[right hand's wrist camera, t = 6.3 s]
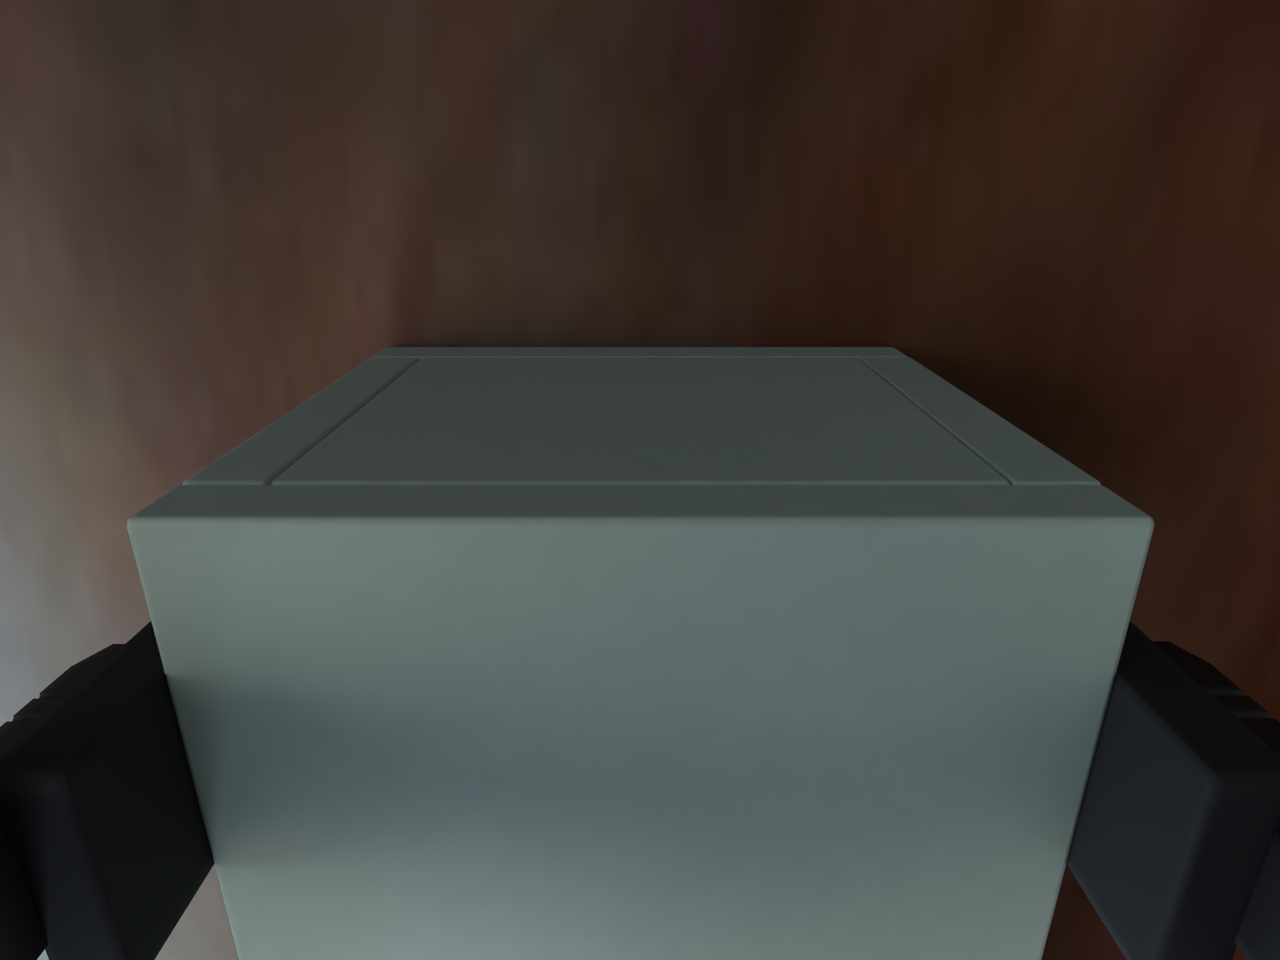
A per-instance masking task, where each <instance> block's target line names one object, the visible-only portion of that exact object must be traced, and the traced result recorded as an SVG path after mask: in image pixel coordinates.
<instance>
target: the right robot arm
mask: <svg viewBox="0 0 1280 960" xmlns="http://www.w3.org/2000/svg"><path fill="white" fill-rule="evenodd" d="M213 865H214V860H213V856H212V852H211V848H210V844H209V841H208V837H207V833H206V829H205V825H204V821H203V817H202V814H201V810H200V806H199V802H198V798H197V794H196V791H195V787H194V783H193V779H192V775H191V771H190V768H189V764H188V760H187V756H186V752H185V748H184V744H183V741H182V737H181V733H180V729H179V725H178V721H177V718H176V714H175V710H174V706H173V702H172V698H171V694H170V691H169V687H168V683H167V679H166V675H165V671H164V668H163V664H162V660H161V656H160V652H159V648H158V644H157V641H156V637H155V633H154V629H153V625H152V621H151V622H149V623H148V624H147V625H146V626H145V627H144V628H143V629H142V630H141V631H139V632H138V633H137V634H136V635H135V636H134V637H133V638H132V639H131V640H129V641H128V642H127V643H126V644H112V645H110V646H109V647H107V648H105V649H103V650H101V651H99V652H97V653H96V654H94V655H92V656H90V657H88V658H86V659H84V660H83V661H81V662H79V663H77V664H75V665H73V666H71V667H70V668H69V669H68V670H67V671H65V672H64V673H63V674H62V675H61V676H60V677H58V678H57V679H56V680H55V681H54V682H53V683H51V684H50V685H49V686H48V687H47V688H45V689H44V690H43V691H42V692H41V693H40V697H39V699H33V700H31V701H30V702H29V703H28V704H27V705H26V706H24V707H23V708H22V709H21V710H20V711H19V712H17V713H16V714H15V715H14V719H13V721H12V722H6V723H4V724H3V725H2V726H1V727H0V960H37V958H38V957H39V956H40V955H41V953H42V952H43V951H44V949H45V950H46V952H47V955H48V958H49V960H154V959H155V958H156V956H157V955H158V953H159V951H160V950H161V948H162V947H163V945H164V943H165V942H166V940H167V939H168V937H169V935H170V934H171V932H172V930H173V929H174V927H175V926H176V924H177V922H178V921H179V919H180V918H181V916H182V914H183V913H184V911H185V910H186V908H187V906H188V905H189V903H190V902H191V900H192V898H193V897H194V895H195V894H196V892H197V890H198V889H199V887H200V886H201V884H202V882H203V881H204V879H205V878H206V876H207V874H208V873H209V871H210V870H211V868H212V866H213ZM1067 865H1068V867H1069V868H1070V870H1071V871H1072V873H1073V875H1074V876H1075V878H1076V879H1077V881H1078V883H1079V884H1080V886H1081V887H1082V889H1083V891H1084V892H1085V894H1086V895H1087V897H1088V899H1089V900H1090V902H1091V903H1092V905H1093V907H1094V908H1095V910H1096V912H1097V913H1098V915H1099V916H1100V918H1101V920H1102V921H1103V923H1104V924H1105V926H1106V928H1107V929H1108V931H1109V932H1110V934H1111V936H1112V937H1113V939H1114V940H1115V942H1116V944H1117V945H1118V947H1119V948H1120V950H1121V952H1122V953H1123V955H1124V956H1125V958H1126V960H1232V958H1233V955H1234V953H1235V950H1236V948H1237V946H1238V948H1239V949H1240V950H1241V952H1242V953H1243V954H1244V955H1245V957H1246V958H1247V959H1248V960H1280V722H1279V721H1277V720H1276V719H1270V718H1269V713H1268V712H1267V711H1266V710H1264V709H1263V708H1262V707H1261V706H1260V705H1259V704H1257V703H1256V702H1255V701H1254V700H1253V699H1252V698H1250V697H1249V696H1243V694H1242V690H1241V689H1240V688H1239V687H1237V686H1236V685H1235V684H1234V683H1233V682H1231V681H1230V680H1229V679H1228V678H1227V677H1226V676H1224V675H1223V674H1222V673H1221V672H1220V671H1218V670H1217V669H1216V668H1215V667H1214V666H1213V665H1211V664H1210V663H1208V662H1206V661H1204V660H1202V659H1200V658H1199V657H1197V656H1195V655H1193V654H1191V653H1189V652H1187V651H1185V650H1184V649H1182V648H1180V647H1178V646H1176V645H1174V644H1172V643H1170V642H1153V641H1151V640H1150V639H1149V638H1148V637H1147V636H1146V635H1145V634H1144V633H1143V632H1141V631H1140V630H1139V629H1138V628H1137V627H1136V626H1135V625H1134V624H1133V623H1131V622H1130V621H1129V625H1128V629H1127V632H1126V636H1125V640H1124V644H1123V648H1122V652H1121V655H1120V659H1119V663H1118V667H1117V671H1116V675H1115V678H1114V682H1113V686H1112V690H1111V694H1110V698H1109V701H1108V705H1107V709H1106V713H1105V717H1104V721H1103V725H1102V728H1101V732H1100V736H1099V740H1098V744H1097V748H1096V751H1095V755H1094V759H1093V763H1092V767H1091V771H1090V774H1089V778H1088V782H1087V786H1086V790H1085V794H1084V797H1083V801H1082V805H1081V809H1080V813H1079V817H1078V820H1077V824H1076V828H1075V832H1074V836H1073V840H1072V843H1071V847H1070V851H1069V855H1068V859H1067Z"/></svg>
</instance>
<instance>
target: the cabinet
mask: <svg viewBox="0 0 1280 960" xmlns="http://www.w3.org/2000/svg"><path fill="white" fill-rule="evenodd" d="M127 529H128V533H129V537H130V541H131V544H132V548H133V552H134V556H135V560H136V564H137V568H138V571H139V575H140V579H141V583H142V587H143V591H144V594H145V598H146V602H147V606H148V610H149V614H150V618H151V621H152V625H153V629H154V633H155V637H156V641H157V644H158V648H159V652H160V656H161V660H162V664H163V668H164V671H165V675H166V679H167V683H168V687H169V691H170V694H171V698H172V702H173V706H174V710H175V714H176V718H177V721H178V725H179V729H180V733H181V737H182V741H183V744H184V748H185V752H186V756H187V760H188V764H189V768H190V771H191V775H192V779H193V783H194V787H195V791H196V794H197V798H198V802H199V806H200V810H201V814H202V817H203V821H204V825H205V829H206V833H207V837H208V841H209V844H210V848H211V852H212V856H213V860H214V864H215V867H216V871H217V875H218V879H219V883H220V887H221V891H222V894H223V898H224V902H225V906H226V910H227V914H228V917H229V921H230V925H231V929H232V933H233V937H234V941H235V944H236V948H237V952H238V956H239V960H1041V958H1042V955H1043V951H1044V947H1045V943H1046V939H1047V935H1048V932H1049V928H1050V924H1051V920H1052V916H1053V912H1054V909H1055V905H1056V901H1057V897H1058V893H1059V889H1060V886H1061V882H1062V878H1063V874H1064V870H1065V866H1066V863H1067V859H1068V855H1069V851H1070V847H1071V843H1072V840H1073V836H1074V832H1075V828H1076V824H1077V820H1078V817H1079V813H1080V809H1081V805H1082V801H1083V797H1084V794H1085V790H1086V786H1087V782H1088V778H1089V774H1090V771H1091V767H1092V763H1093V759H1094V755H1095V751H1096V748H1097V744H1098V740H1099V736H1100V732H1101V728H1102V725H1103V721H1104V717H1105V713H1106V709H1107V705H1108V701H1109V698H1110V694H1111V690H1112V686H1113V682H1114V678H1115V675H1116V671H1117V667H1118V663H1119V659H1120V655H1121V652H1122V648H1123V644H1124V640H1125V636H1126V632H1127V629H1128V625H1129V621H1130V617H1131V613H1132V609H1133V606H1134V602H1135V598H1136V594H1137V590H1138V586H1139V583H1140V579H1141V575H1142V571H1143V567H1144V563H1145V560H1146V556H1147V552H1148V548H1149V544H1150V540H1151V537H1152V533H1153V529H1154V521H1153V519H1152V517H1150V516H1149V515H1147V514H1146V513H1144V512H1143V511H1141V510H1140V509H1138V508H1136V507H1135V506H1133V505H1132V504H1130V503H1129V502H1127V501H1126V500H1124V499H1123V498H1121V497H1120V496H1118V495H1117V494H1115V493H1114V492H1112V491H1111V490H1109V489H1108V488H1106V487H1104V486H1102V485H1101V484H1100V482H1099V481H1098V480H1096V479H1095V478H1093V477H1092V476H1090V475H1089V474H1087V473H1085V472H1084V471H1082V470H1081V469H1079V468H1078V467H1076V466H1075V465H1073V464H1072V463H1070V462H1069V461H1067V460H1066V459H1064V458H1063V457H1061V456H1060V455H1058V454H1057V453H1055V452H1054V451H1052V450H1050V449H1049V448H1047V447H1046V446H1044V445H1043V444H1041V443H1040V442H1038V441H1037V440H1035V439H1034V438H1032V437H1031V436H1029V435H1028V434H1026V433H1025V432H1023V431H1022V430H1020V429H1019V428H1017V427H1015V426H1014V425H1012V424H1011V423H1009V422H1008V421H1006V420H1005V419H1003V418H1002V417H1000V416H999V415H997V414H996V413H994V412H993V411H991V410H990V409H988V408H987V407H985V406H983V405H982V404H980V403H979V402H977V401H976V400H974V399H973V398H971V397H970V396H968V395H967V394H965V393H964V392H962V391H961V390H959V389H958V388H956V387H955V386H953V385H952V384H950V383H948V382H947V381H945V380H944V379H942V378H941V377H939V376H938V375H936V374H935V373H933V372H932V371H930V370H929V369H927V368H926V367H924V366H923V365H921V364H920V363H918V362H916V361H915V360H913V359H912V358H910V357H908V356H906V355H905V354H903V353H902V352H900V351H899V350H897V349H895V348H893V347H387V348H385V349H383V350H382V351H380V352H379V353H377V354H376V355H374V356H373V357H372V358H370V359H368V360H367V361H365V362H364V363H362V364H361V365H359V366H358V367H356V368H355V369H353V370H352V371H350V372H349V373H347V374H346V375H344V376H343V377H341V378H339V379H338V380H336V381H335V382H333V383H332V384H330V385H329V386H327V387H326V388H324V389H323V390H321V391H320V392H318V393H317V394H315V395H314V396H312V397H311V398H309V399H308V400H306V401H305V402H303V403H302V404H300V405H299V406H297V407H296V408H294V409H293V410H291V411H290V412H288V413H287V414H285V415H284V416H282V417H281V418H279V419H278V420H276V421H275V422H273V423H272V424H270V425H269V426H267V427H266V428H264V429H263V430H261V431H259V432H258V433H256V434H255V435H253V436H252V437H250V438H249V439H247V440H246V441H244V442H243V443H241V444H240V445H238V446H237V447H235V448H234V449H232V450H231V451H229V452H228V453H226V454H225V455H223V456H222V457H220V458H219V459H217V460H216V461H214V462H213V463H211V464H210V465H208V466H207V467H205V468H204V469H202V470H201V471H199V472H198V473H196V474H195V475H193V476H192V477H190V478H189V479H187V480H186V481H184V482H183V485H179V486H177V487H175V488H173V489H172V490H170V491H169V492H167V493H166V494H164V495H163V496H161V497H160V498H158V499H157V500H155V501H154V502H152V503H151V504H149V505H148V506H146V507H145V508H143V509H142V510H140V511H139V512H137V513H136V514H134V515H133V516H131V517H130V518H129V519H128V521H127Z"/></svg>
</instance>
